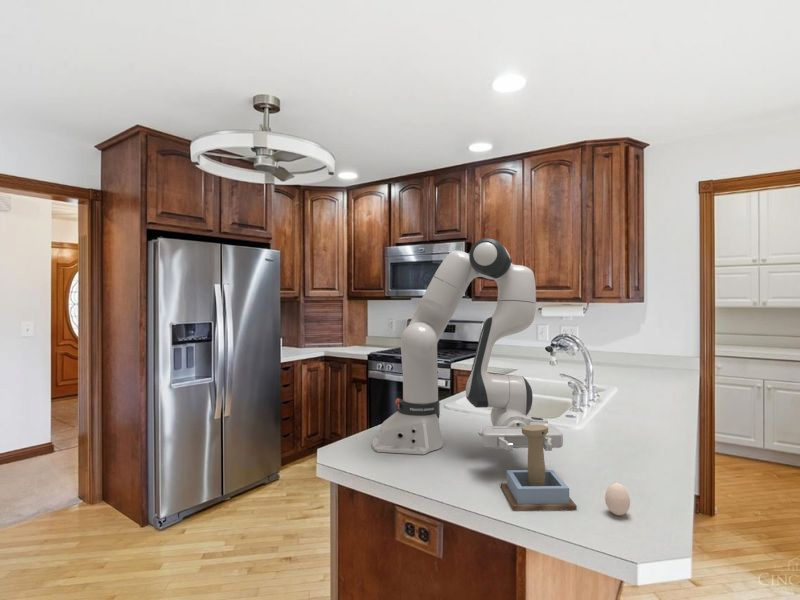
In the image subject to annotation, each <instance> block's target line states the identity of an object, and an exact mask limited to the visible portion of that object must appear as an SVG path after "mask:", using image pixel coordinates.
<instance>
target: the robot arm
mask: <svg viewBox="0 0 800 600" xmlns="http://www.w3.org/2000/svg"><path fill="white" fill-rule="evenodd" d="M474 279H479V280H485V281H491V282H495V283H496V285H497V301H496V302H497V303H496V308H495V310H494V312H493V314H492V315H491V316H490V317H488V318H486V320H485V321H484V323H483V325H482V329H481V332H480V335H479V339H478V343H477V346H476V350H475V355H474V358H473V361H472V362H473V363H472V367H471V370H470V374H469V377H468V378H467V382H466V385H465V396H466V397H465V398H466V401H468V402H469V403H470V404H471V405H472V406H473V407H475V408H479V409H480V408H481V409H482V408H483V409H484V408H491V411H490V421H491V424H492V425H491V426H489V425H488V426H484V427H482V429H481V430H480V429H479V430H478V431H477V433H478V436H480V437H481V438H482V439H481V441H482V446H483V447H485V448H488V449H492V448H493V449H494V448H495V449H505V451H507V452H508V451H509V452H512V451H513V450H514V449H526V448H527V449H528V437H527V436H525V435H524V434H522V427H524V426H528V425H544V426H547V427H548V433H547V434H546V435H545V436H544V437H543V451H546V452H547V451H548V452H550V451H553V448H554V449H561V448H562V447H563V445H564V444H563V443H564V435H563V432H562V431H561V430H560V429H559V428H557V427H556V426H555V425H553V424H551V423H549V421H548V419H547V418H543V417H534V416H529V413H530V411H531V409H532V406H533V405H532V404H533V390H532V387H531V384H530V383H529V381H528V380H527V379H526V378H525V377H524V376H522V375H515V374H500V373H499V374H498V373H491V372H488V366H489V363H490V358H491V355H492V350H493V347H494V345H495V343H496V342H497V341H499V340H500V339H502V338H505V337H508V336H511V335H514V334H518V333H521V332H524V331H525V330H526V329H528V328H529V327H530V326H531V325H532V323H534V322H533V321H534V319H535V315H536V307H537V291H536V290H537V287H536V277H535V273H534V271H533V270H532V269H531V268H529V267H528V266H525V265H523V264H522V265H520V264H514V263H513V261H512V258H511V256H510V253H509V251H508V249H507V247H505V246H504V245H503V244H502V243H501V242H500V241H498V240H497V239H494V238H488V237H485V238H482V239H479V240H477V241H476V242H475V243H474V244H473V245H472V246H471V247H470V250H469V252H468V253H467V252H466V251H463V250H453V251H450V252H449V253H448V254H447V255H446V257H445V258H444V259H443V261H442V262H441V264H440V265H439V266H438V268H437V270H436V271H435V273H434V274H433V277H432V278H431V280H430V282H429V284H428V286H427V288H426V289H425V291H424V294H423V295H422V297H421V300H420V301H419V303H418V306H417V308H416V310H415V312H414V314H413V316H412V318H411V320H410V322H409V324H408V326H406V327H405V328H404V329H403V331H402V333H401V335H400V351H401V352H400V353H401V354H400V355H401V367H402V398H399V397H398V398H396V399H395V405H396V412H394V413H393V414H391V415H390V416H389V417H388V418H387V419H385V420H384V421H383V422H382V423H381V426H380V429H379V432H378V435H376V436H375V437H374V438H373V439H372V442H371V443H372V444H371V446H372V447H371V448H372V449H373V450H374V451H375V452H379V453H388V454H389V453H393V454H408V455H426V454H428V453H430V452H433V451H437V450H439V449H441V448H442V447H443V446H444V440H443V438H442V433H441V427H440V416H441V403H440V400H439V371H438V343H439V341H440V339H441V337H442V336H443V333H444V332H445V330H446V328H447V326H448V324H449V322H450V321H451V319H452V317H453V315H454V314H455V312H456V310H457V308H458V306H459V304H460V302H461V301H462V298H463V296H464V295H465V293H466V291H467V289H468V287H469V285H470V283H471V282H472V281H473V280H474Z"/></svg>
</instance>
